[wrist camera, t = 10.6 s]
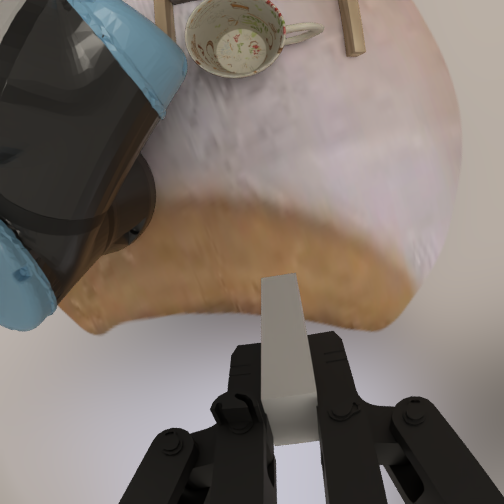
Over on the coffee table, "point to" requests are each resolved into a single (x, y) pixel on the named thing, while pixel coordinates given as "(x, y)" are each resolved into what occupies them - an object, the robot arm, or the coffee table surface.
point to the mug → (240, 36)
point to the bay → (347, 10)
